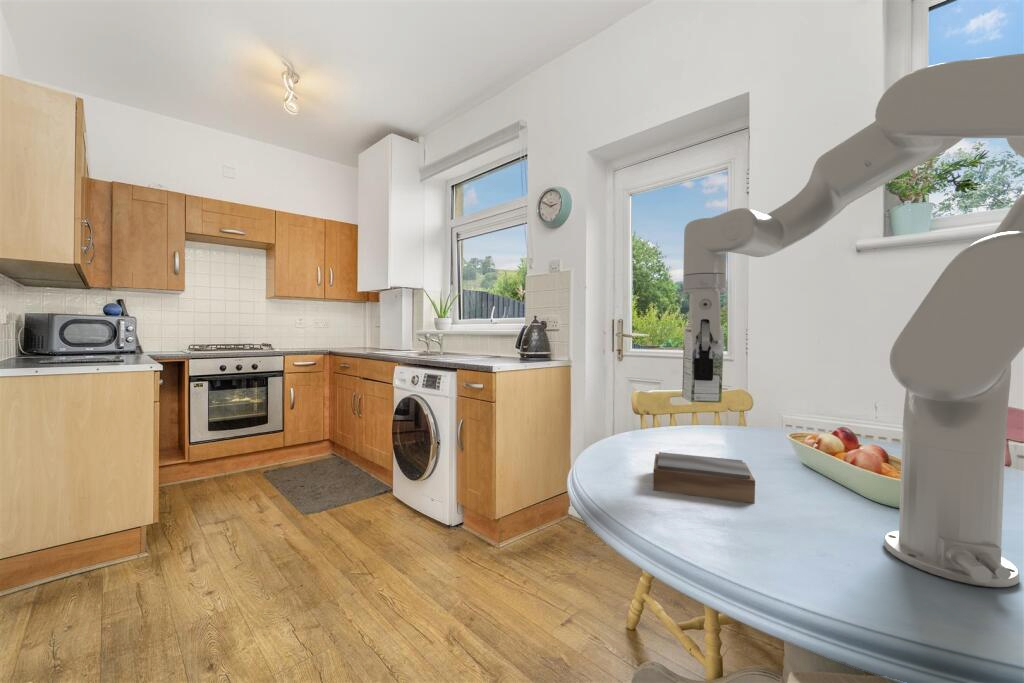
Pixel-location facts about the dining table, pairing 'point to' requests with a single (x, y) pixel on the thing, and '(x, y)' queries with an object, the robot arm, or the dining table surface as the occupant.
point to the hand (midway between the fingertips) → (701, 377)
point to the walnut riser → (703, 477)
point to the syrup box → (700, 388)
